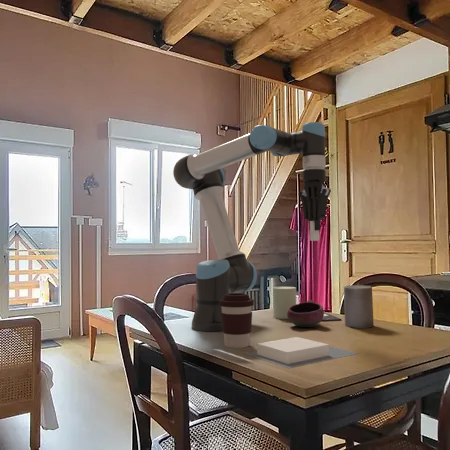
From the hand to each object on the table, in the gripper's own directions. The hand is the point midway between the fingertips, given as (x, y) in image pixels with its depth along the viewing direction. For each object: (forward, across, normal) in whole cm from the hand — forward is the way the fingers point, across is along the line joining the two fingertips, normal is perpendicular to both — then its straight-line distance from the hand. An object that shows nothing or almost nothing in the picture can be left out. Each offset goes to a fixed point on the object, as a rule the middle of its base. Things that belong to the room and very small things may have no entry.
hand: (314, 240), depth 158 cm
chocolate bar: (+31, -20, +22) cm, 43 cm away
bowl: (+30, -10, +4) cm, 32 cm away
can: (+31, -29, +11) cm, 43 cm away
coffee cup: (+30, +4, -34) cm, 45 cm away
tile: (+28, +22, -22) cm, 41 cm away
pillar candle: (+30, +1, +19) cm, 36 cm away
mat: (+30, +22, -26) cm, 45 cm away
